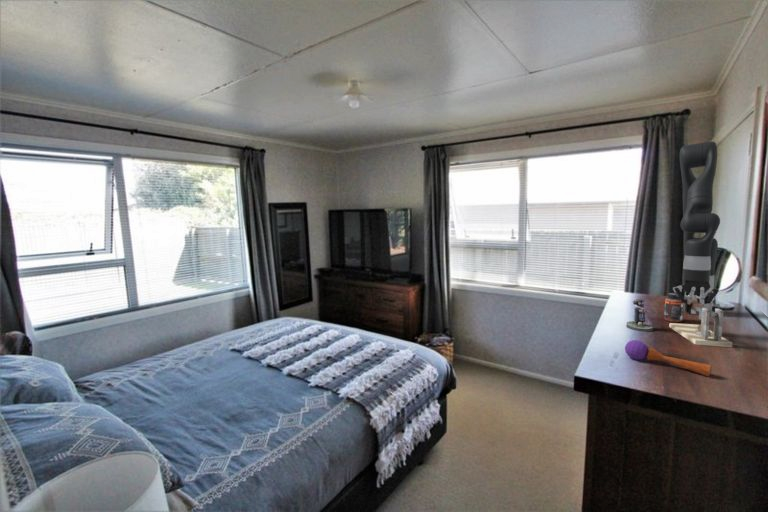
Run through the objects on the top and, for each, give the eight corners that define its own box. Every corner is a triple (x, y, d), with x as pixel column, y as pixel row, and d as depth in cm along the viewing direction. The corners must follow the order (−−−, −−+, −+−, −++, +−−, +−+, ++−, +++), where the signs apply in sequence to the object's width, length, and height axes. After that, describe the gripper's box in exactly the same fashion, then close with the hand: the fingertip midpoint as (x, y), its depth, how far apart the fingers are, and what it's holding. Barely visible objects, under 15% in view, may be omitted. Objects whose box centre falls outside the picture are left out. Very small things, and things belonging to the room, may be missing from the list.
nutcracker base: (669, 326, 139) (671, 296, 138) (700, 328, 136) (702, 298, 135) (695, 344, 120) (697, 310, 119) (732, 347, 117) (735, 311, 116)
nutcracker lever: (717, 325, 119) (718, 312, 118) (707, 324, 120) (709, 312, 119) (692, 310, 135) (693, 299, 134) (684, 310, 135) (685, 299, 135)
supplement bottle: (686, 322, 144) (688, 295, 143) (671, 322, 144) (673, 295, 143) (674, 318, 150) (676, 292, 149) (660, 318, 150) (661, 292, 149)
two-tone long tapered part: (709, 366, 95) (623, 342, 110) (706, 385, 96) (621, 359, 111) (713, 356, 98) (629, 334, 113) (710, 375, 100) (627, 350, 115)
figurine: (621, 326, 141) (623, 297, 139) (634, 323, 144) (635, 294, 143) (645, 332, 133) (646, 301, 132) (657, 329, 137) (659, 298, 136)
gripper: (714, 267, 131) (710, 312, 133) (669, 266, 135) (666, 310, 137) (726, 269, 124) (722, 318, 126) (678, 268, 128) (675, 315, 130)
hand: (693, 313), depth 131 cm, fingers closed on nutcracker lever, 2 cm apart
